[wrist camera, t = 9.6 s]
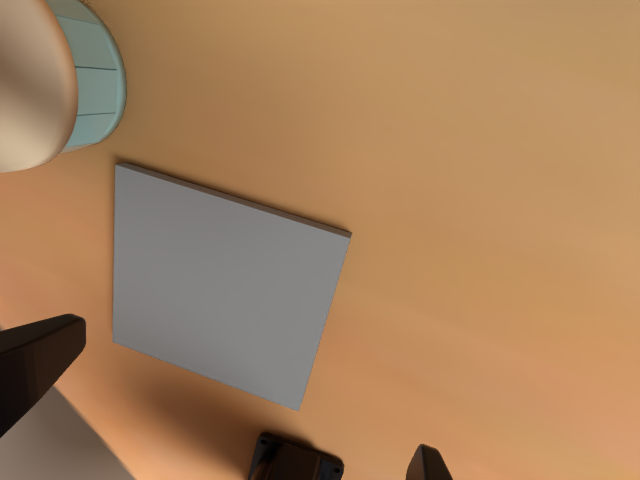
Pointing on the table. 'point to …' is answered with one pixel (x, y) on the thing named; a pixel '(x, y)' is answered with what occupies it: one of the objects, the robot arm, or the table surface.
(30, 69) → the lid
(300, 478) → the robot arm
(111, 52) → the bowl
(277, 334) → the mat
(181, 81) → the table surface
